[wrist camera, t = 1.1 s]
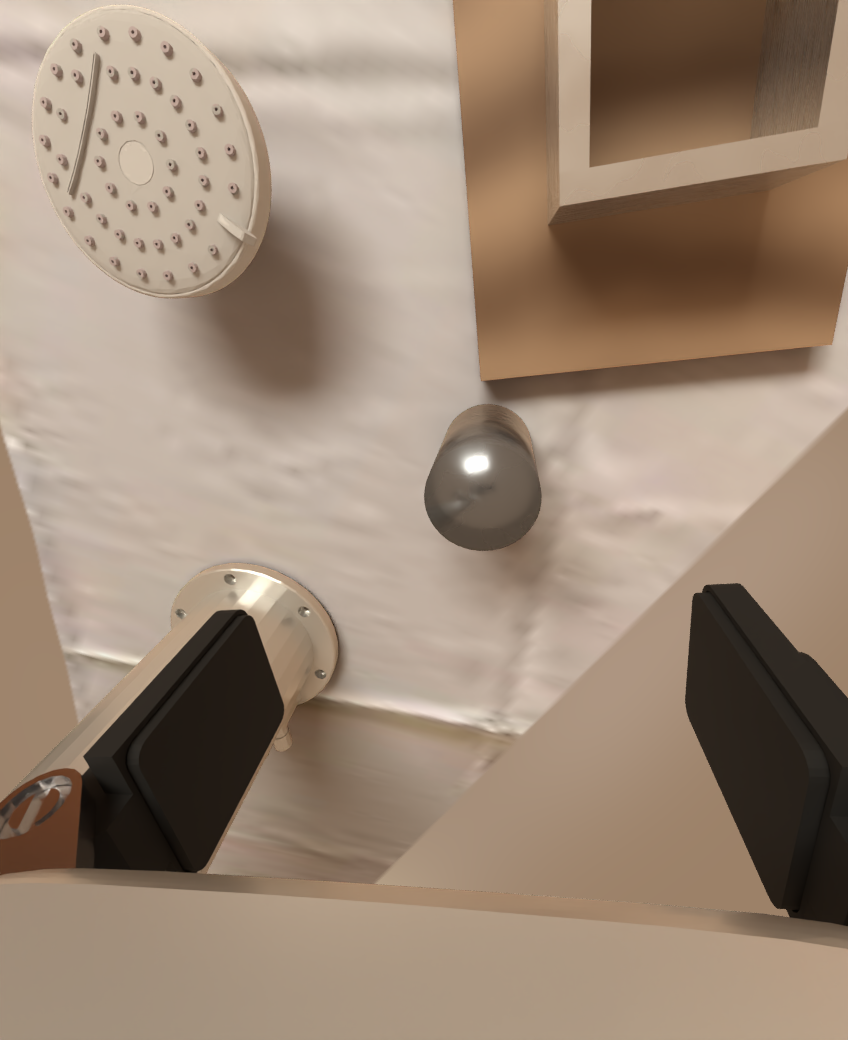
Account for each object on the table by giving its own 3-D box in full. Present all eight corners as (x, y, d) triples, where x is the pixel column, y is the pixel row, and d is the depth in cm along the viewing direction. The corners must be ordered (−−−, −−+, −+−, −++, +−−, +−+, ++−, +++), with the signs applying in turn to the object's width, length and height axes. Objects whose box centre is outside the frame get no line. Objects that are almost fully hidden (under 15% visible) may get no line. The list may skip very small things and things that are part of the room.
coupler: (532, 485, 29) (542, 548, 21) (448, 490, 29) (431, 552, 22) (529, 399, 27) (539, 437, 19) (439, 408, 27) (417, 447, 20)
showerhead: (211, 351, 21) (-10, 213, 20) (281, 338, 27) (118, 235, 26) (300, 105, 17) (29, -84, 16) (357, 160, 23) (168, 29, 22)
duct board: (812, 341, 23) (915, 356, 18) (481, 376, 26) (476, 398, 21) (935, -316, 16) (1197, -687, 10) (442, -162, 18) (415, -377, 13)
